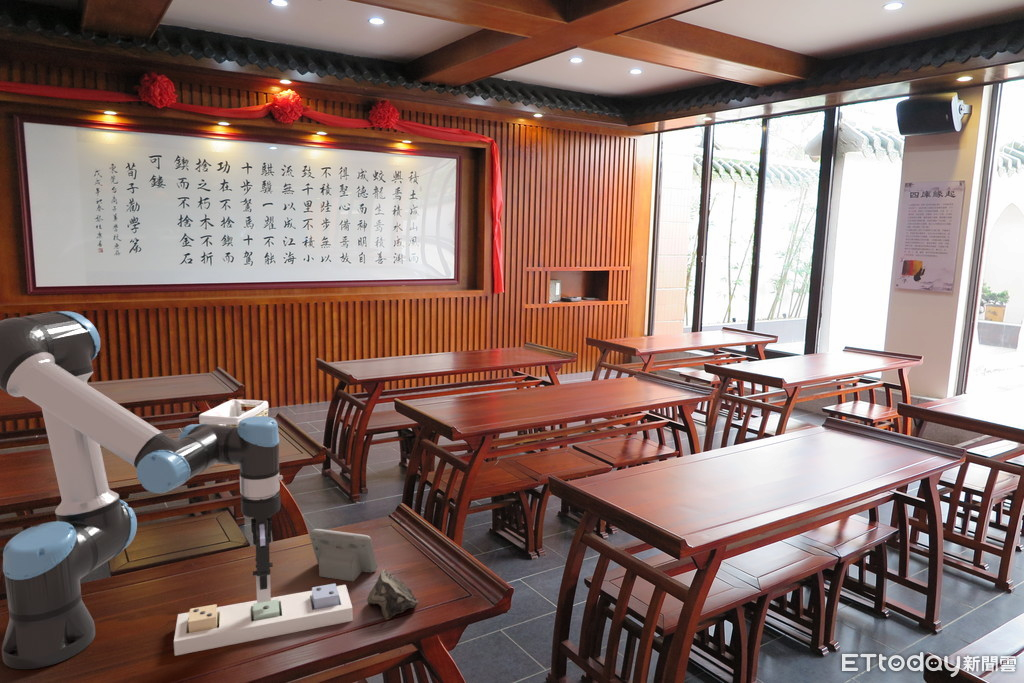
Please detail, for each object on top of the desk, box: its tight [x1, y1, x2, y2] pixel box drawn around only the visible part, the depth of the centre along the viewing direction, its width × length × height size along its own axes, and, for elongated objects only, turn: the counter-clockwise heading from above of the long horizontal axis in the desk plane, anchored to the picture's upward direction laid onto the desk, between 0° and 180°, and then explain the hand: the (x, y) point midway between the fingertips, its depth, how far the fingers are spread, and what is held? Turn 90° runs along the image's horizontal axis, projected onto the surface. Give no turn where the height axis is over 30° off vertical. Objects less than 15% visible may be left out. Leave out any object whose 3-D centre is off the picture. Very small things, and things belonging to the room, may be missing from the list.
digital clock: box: [309, 528, 378, 582], centre depth 162 cm, size 16×9×11 cm, turn 65°
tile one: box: [253, 599, 281, 621], centre depth 140 cm, size 5×5×4 cm
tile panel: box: [173, 584, 354, 656], centre depth 141 cm, size 34×10×3 cm, turn 112°
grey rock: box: [366, 569, 419, 621], centre depth 147 cm, size 11×9×10 cm
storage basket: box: [198, 398, 269, 427], centre depth 255 cm, size 24×16×15 cm
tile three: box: [188, 603, 218, 633], centre depth 136 cm, size 5×5×4 cm
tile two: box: [311, 582, 339, 610], centre depth 145 cm, size 5×5×4 cm
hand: (263, 600), depth 140 cm, fingers closed
